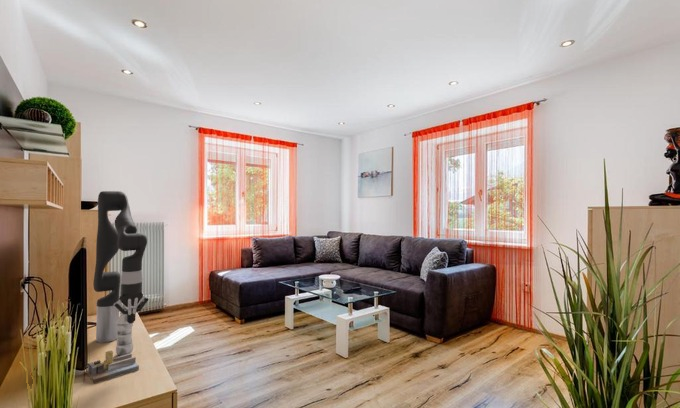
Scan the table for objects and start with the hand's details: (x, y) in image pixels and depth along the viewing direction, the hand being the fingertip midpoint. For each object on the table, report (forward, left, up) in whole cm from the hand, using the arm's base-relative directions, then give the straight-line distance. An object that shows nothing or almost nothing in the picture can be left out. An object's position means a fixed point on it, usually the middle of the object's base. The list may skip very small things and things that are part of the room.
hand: (130, 322), depth 140 cm
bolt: (0, -9, -16) cm, 18 cm away
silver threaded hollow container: (-13, +2, -18) cm, 22 cm away
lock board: (0, -7, -17) cm, 18 cm away
